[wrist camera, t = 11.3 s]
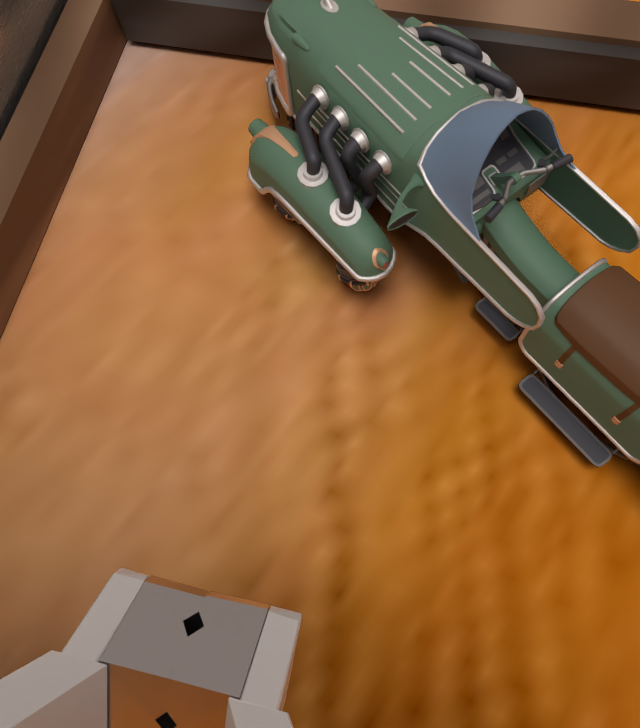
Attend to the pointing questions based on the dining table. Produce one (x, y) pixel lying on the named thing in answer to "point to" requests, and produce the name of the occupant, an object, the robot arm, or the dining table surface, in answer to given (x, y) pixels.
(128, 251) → the dining table surface
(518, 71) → the brown flat square frame
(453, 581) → the dining table surface
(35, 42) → the grey holder box
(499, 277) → the hoverbike
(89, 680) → the robot arm
